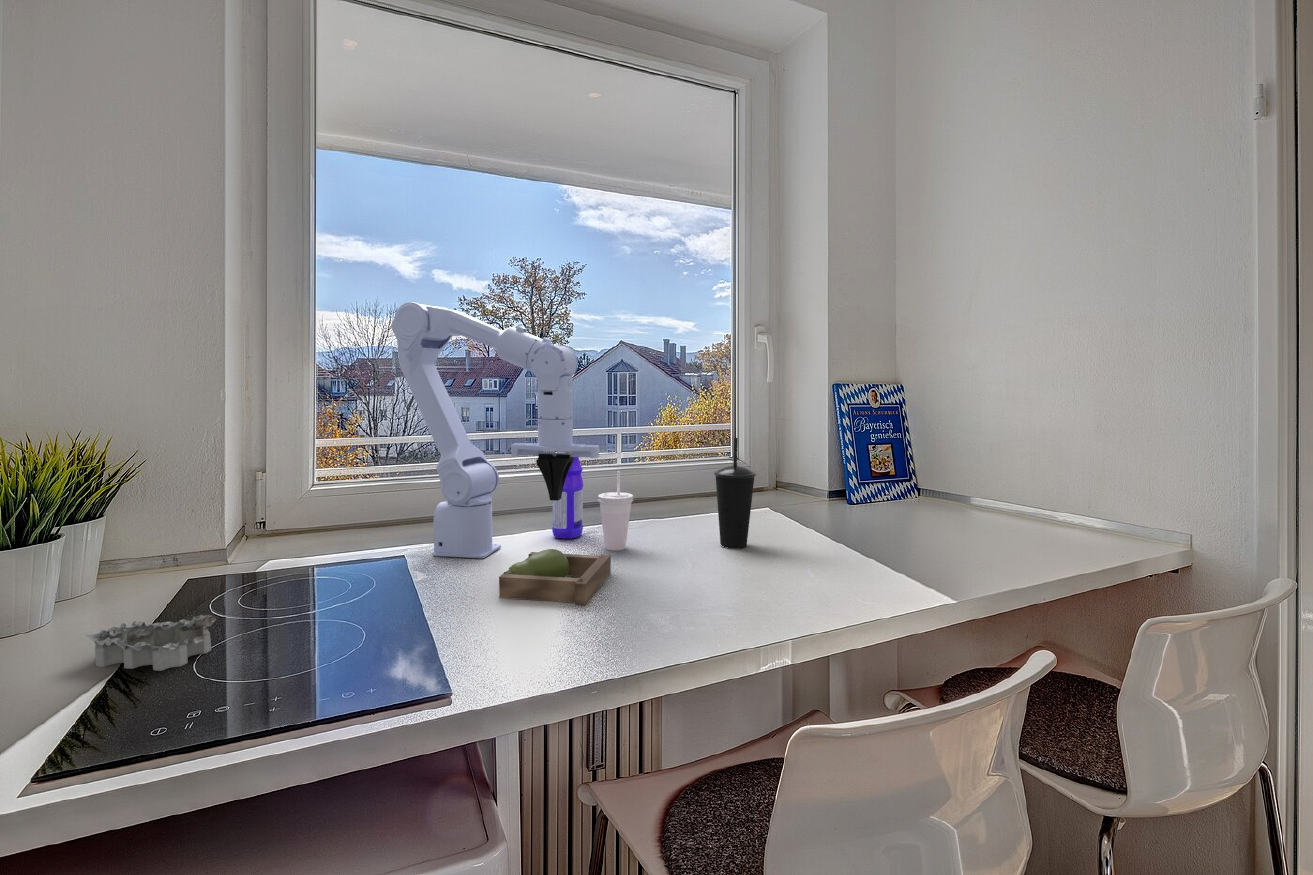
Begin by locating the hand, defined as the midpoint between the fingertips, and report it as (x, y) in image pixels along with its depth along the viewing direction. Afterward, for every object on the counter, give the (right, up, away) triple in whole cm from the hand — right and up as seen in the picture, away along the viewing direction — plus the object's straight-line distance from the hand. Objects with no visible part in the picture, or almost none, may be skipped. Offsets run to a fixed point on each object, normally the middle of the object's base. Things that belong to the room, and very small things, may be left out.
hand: (555, 499), depth 114 cm
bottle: (0, -9, +18) cm, 20 cm away
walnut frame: (+2, -12, -12) cm, 17 cm away
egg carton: (-39, -14, -38) cm, 56 cm away
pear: (-1, -12, -13) cm, 17 cm away
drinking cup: (+31, -10, +12) cm, 35 cm away
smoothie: (+9, -10, +10) cm, 17 cm away
